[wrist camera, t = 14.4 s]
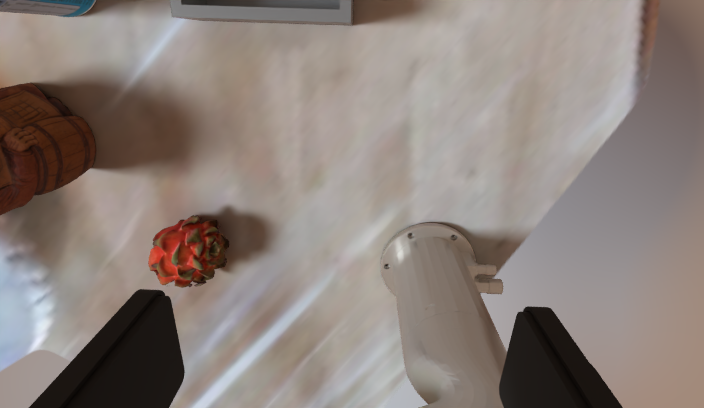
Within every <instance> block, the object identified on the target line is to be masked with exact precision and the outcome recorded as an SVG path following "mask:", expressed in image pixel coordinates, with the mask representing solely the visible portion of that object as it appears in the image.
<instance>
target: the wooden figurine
mask: <svg viewBox="0 0 704 408" xmlns="http://www.w3.org/2000/svg"><path fill="white" fill-rule="evenodd" d="M95 153H96V146H95V140H94V136H93V134H92V132H91V130H90V128H89V126H88V124H87V123H86V122H85V121H84V120H83V119H82V118H81V117H77V116H73V115H72V113H71V112H70V111H69V109H68V108H67V107H65V106H64V105H63V104H62V103H61V102H60V101H59V100H58V99H57V98H54V97H48V98H46V97H45V95H44V94H43V93H42V92H41V91H40V90H39V89H38V88H37V87H36V86H35V85H33V84H32V83H26V84H19V85H15V86H11V87H5V88H1V89H0V215H2V214H4V213H6V212H8V211H10V210H12V209H15V208H18V207H22V206H24V205H26V204H27V203H28V202H29V201H30V200H31V199H32V198H33V196H34V195H42V194H45V193H48V192H51V191H53V190H56V189H58V188H61V187H63V186H64V185H66V184H68V183H70V182H72V181H73V180H75V179H77V178H78V177H79V176H81V175H82V174H83V173H85V172H86V171H87V170H89V169H90V168H91V167H92V165H93V163H94V158H95Z"/></svg>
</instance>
